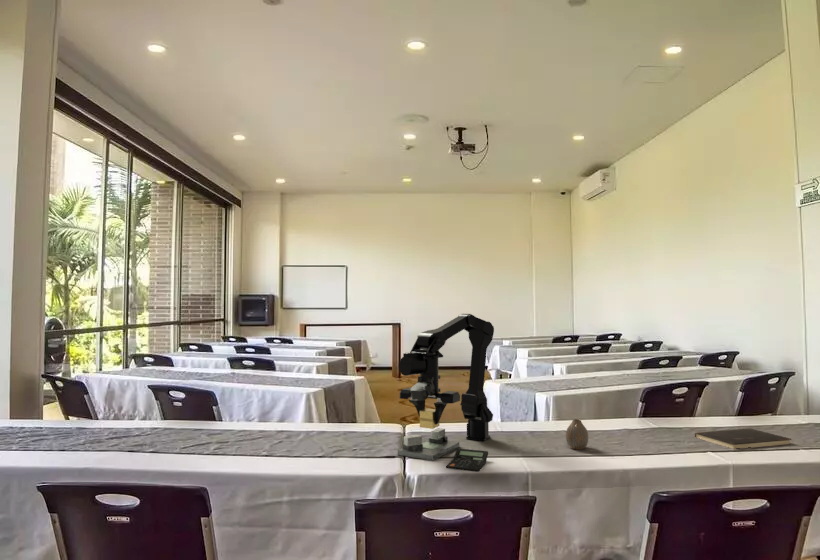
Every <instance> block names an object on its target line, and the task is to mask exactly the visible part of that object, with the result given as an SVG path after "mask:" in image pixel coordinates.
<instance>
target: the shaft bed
mask: <svg viewBox="0 0 820 560" xmlns="http://www.w3.org/2000/svg"><path fill="white" fill-rule="evenodd" d="M430 432H431V433H430V434H431V435H430V437H427V436H426V437H424V438H423V436H422V435H420V434H412V435H405V436H403V443H402V444H401V445H402V448H399V449H398V450H397V456H401V457H405V458H406V457H407V458H413V459H420V460H426V461H432V462H434V461H435V460H437V459H439V458H441V457H443V456H445V455H447V454H448V453H451V452H452V451H454V450H456V449H457V448H459V447H460V441H455V440H450V439H448V436H446V429H445V428H443V427H442V428H441V427H436V428H434V429H432V430H431V431H430Z"/></svg>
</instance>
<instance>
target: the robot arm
mask: <svg viewBox="0 0 820 560" xmlns="http://www.w3.org/2000/svg"><path fill="white" fill-rule="evenodd" d="M463 330H464V331H466V332H467V333H468V340H469V342H470V344H471V346H472V348H471V357H470V358H471V360H470V369H469V377H468V378H469V379H468V380H469V381H468V389H467V390H466V392H465V393H464V392H463V393H461V394H460V392H459V391H453V390H447V391H443V392H441V387H440V388H439V380H440V379H441V375H440V374H439V358H440V359H441V358H443V357H444V354H443V353H441V352H440V349H441V348H443V347H444V346H445V344H446V342H447V341H448V339H450V338H452V337H453V336H455V335H457V334H458V333H461V332H462V331H463ZM494 333H495V327H494V325H493V324H492V322H490V321H486V320H484V319H482V318H480V317H477V316H475V315H474V314H472V313H460V314H459V315H458V316H456V317H454V318H453V319H451V320H450V321H448V322H446V323H444V324H443V325H441V326H439V327H437V328H434V329H428V330H425V331H421V332H419V333H418V335H417V337H416V340H415V342H414V344H413V346H412V348H411V349H410V351H409V352H403V354H402V356H401V358H400V360H399V363H398V369H399V373H400V374H401V375H402V376H415V375H419V376H418V377H417V381H416V383H415V384H414V385H412V387H405V388H402V389H401V390H400V391H399V399H400V400H401V399H402V400H408V402H409V403H411V404H412V405H413V406H414V407H415V409H416V411H417V412H416V413H417V414H418V417H419V418H420V411H421V410H424V409H426V400H427V399H432V400H433V399H435V400H436V402H433V405H434V409H435V424H438V423H439V424H440V419H441V418H442V415H443V412H444V411H445V409H446V407H447V405H448V404H455V403H457V402H460V404H459V405H460V407H461V411H462V415H463V417H464V419H465V420H467V423H466V437H465V439H466V440H473V441H474V440H475V441H480V442H481V441H482V442H484V441H487V440H488V439H490V438H491V435H489V423H490V422H492V421H493V417H494V413H492V410H490V408H489V407H488V398H487V396H486V394H485V392H484V383H485V374H486V364H487V363H486V361H487V352H488V347H489V345H490V344H491V342H492V341H493V338H494Z"/></svg>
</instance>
